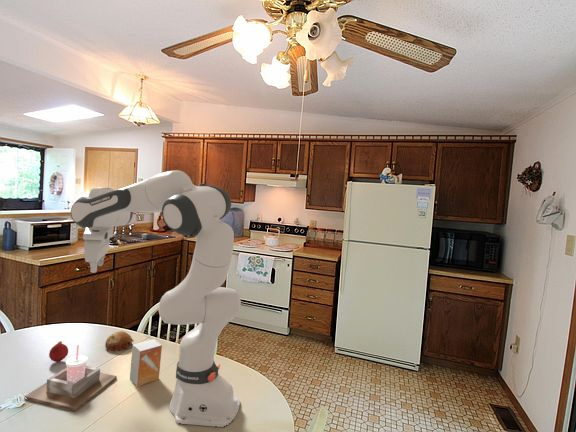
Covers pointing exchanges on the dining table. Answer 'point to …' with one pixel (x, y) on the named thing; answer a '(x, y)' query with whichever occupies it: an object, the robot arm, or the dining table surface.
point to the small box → (145, 362)
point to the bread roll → (119, 341)
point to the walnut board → (71, 389)
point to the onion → (58, 352)
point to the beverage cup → (76, 367)
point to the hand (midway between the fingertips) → (97, 268)
